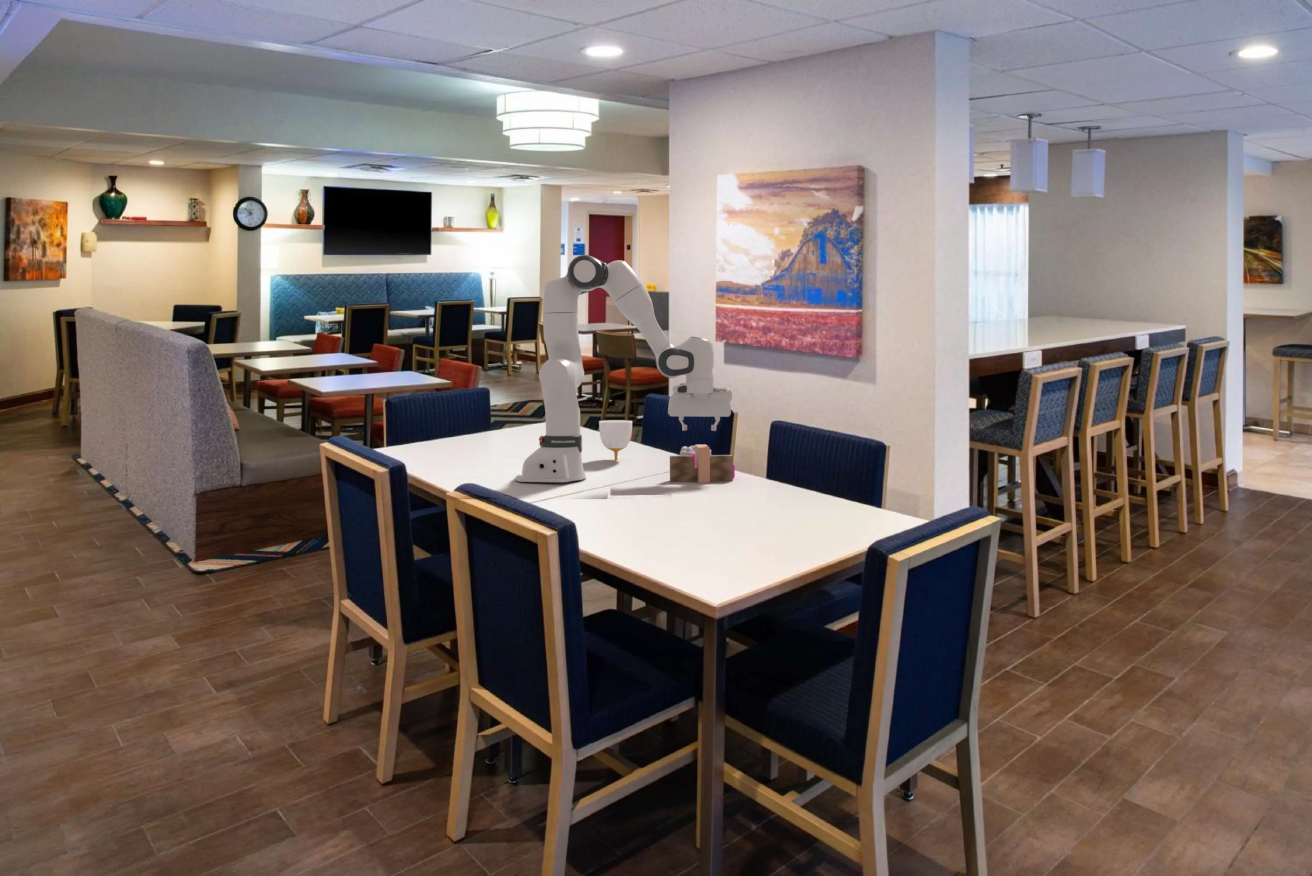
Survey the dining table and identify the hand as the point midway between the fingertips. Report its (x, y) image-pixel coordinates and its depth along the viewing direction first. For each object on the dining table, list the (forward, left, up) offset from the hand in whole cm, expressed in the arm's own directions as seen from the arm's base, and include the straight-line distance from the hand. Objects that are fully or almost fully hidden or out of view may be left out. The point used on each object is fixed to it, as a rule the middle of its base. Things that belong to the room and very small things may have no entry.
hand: (699, 430), depth 313 cm
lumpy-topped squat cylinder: (+1, +22, -16) cm, 27 cm away
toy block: (+5, +6, -16) cm, 18 cm away
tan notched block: (+1, -3, -16) cm, 16 cm away
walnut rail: (0, -4, -16) cm, 16 cm away
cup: (-27, +29, -16) cm, 43 cm away
